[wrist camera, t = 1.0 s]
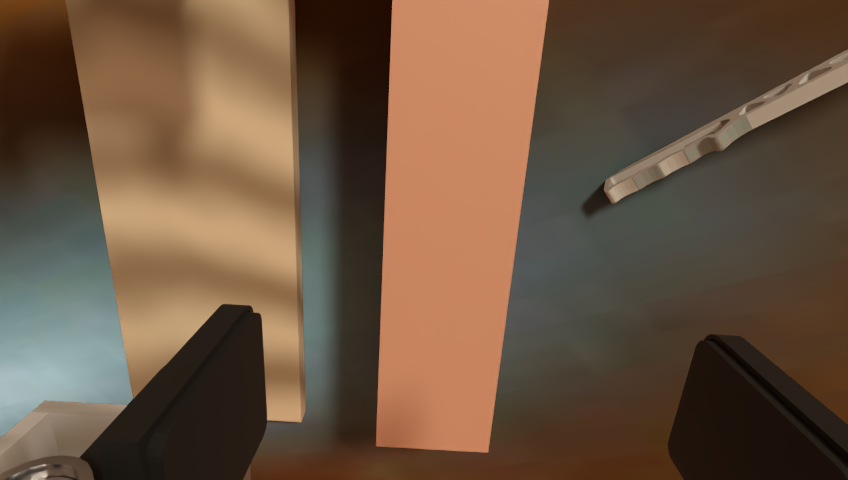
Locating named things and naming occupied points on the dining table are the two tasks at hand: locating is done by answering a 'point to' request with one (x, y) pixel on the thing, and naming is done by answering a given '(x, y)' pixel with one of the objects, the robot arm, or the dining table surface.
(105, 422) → the cradle stand
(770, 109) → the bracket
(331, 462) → the dining table surface
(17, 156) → the dining table surface
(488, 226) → the rail
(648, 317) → the dining table surface
